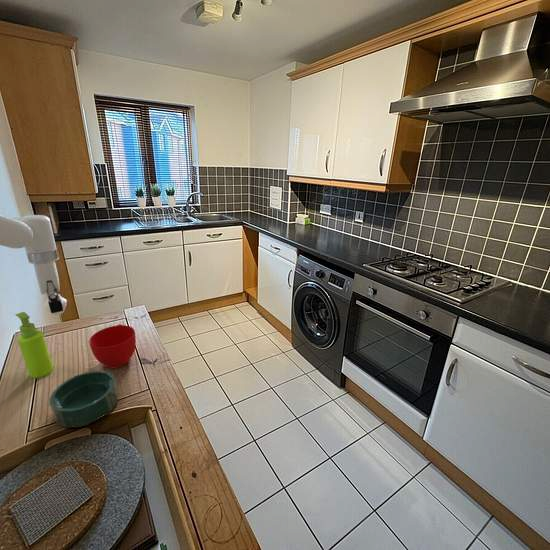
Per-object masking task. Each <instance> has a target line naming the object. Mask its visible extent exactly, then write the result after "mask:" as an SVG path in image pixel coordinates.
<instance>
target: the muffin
mask: <svg viewBox="0 0 550 550" xmlns="http://www.w3.org/2000/svg"><path fill="white" fill-rule="evenodd" d="M55 295H56V293H55ZM58 295H59V299H61V303H62V307H63V311H61V312H56V313H51V311H50V307H49V303H48V302H49V300H48V296H47V297H46V298H47V299H46V301H45V302H44V303H43V307H44V308H45V310H47V311H48V312H49V313H50V314H51V315H53V316H59V315H62V314H64V312H65V310H66V307H67V303H68V300H67V299H66V298H64V297H63V296H61V294H60V293H59V294H58Z"/></svg>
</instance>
